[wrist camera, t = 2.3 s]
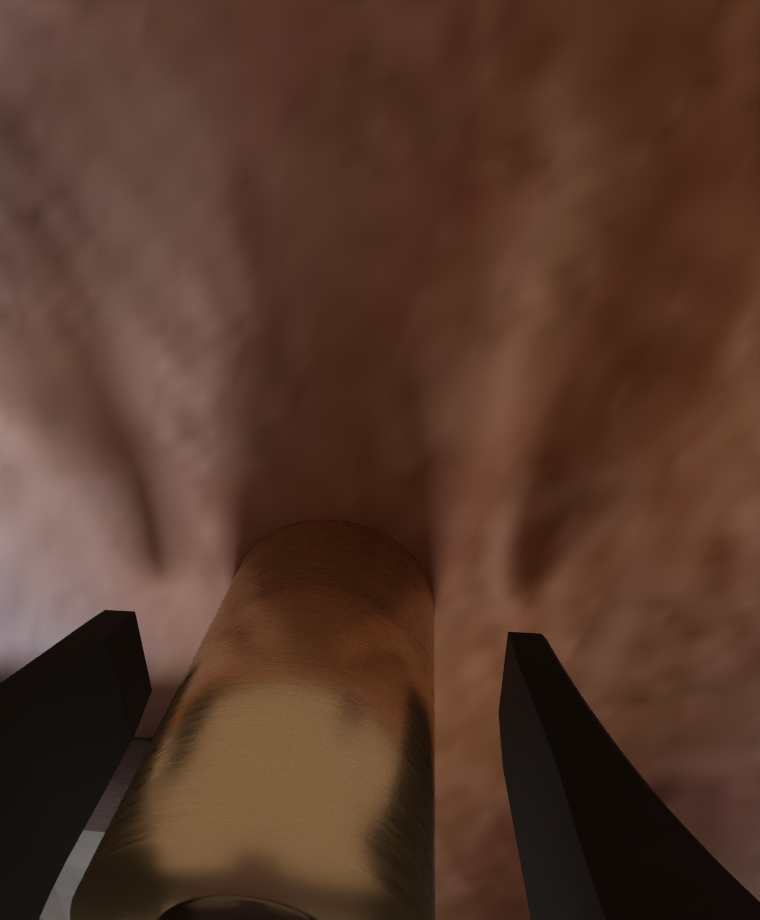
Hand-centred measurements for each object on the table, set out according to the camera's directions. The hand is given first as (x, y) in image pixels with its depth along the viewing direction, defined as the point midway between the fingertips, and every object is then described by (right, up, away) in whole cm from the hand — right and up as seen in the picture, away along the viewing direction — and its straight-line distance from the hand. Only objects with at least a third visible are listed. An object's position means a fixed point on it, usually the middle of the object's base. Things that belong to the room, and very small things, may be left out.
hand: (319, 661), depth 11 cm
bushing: (0, +1, +2) cm, 2 cm away
